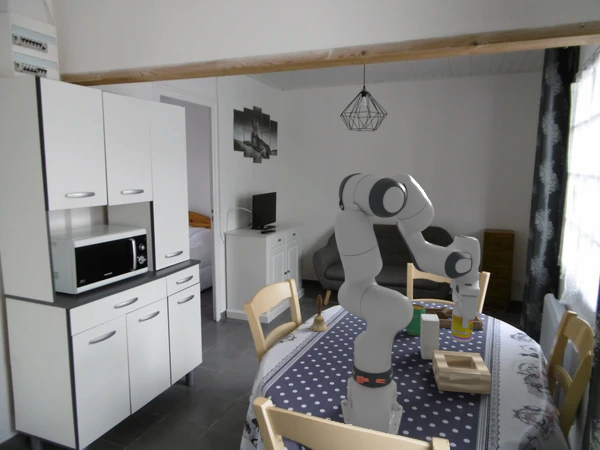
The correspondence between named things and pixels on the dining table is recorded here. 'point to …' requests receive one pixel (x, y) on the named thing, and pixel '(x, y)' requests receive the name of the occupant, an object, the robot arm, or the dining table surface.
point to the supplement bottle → (460, 327)
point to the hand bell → (319, 318)
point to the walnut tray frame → (448, 323)
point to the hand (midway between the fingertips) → (462, 322)
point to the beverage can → (415, 320)
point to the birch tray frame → (461, 372)
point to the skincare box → (429, 335)
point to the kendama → (443, 313)
